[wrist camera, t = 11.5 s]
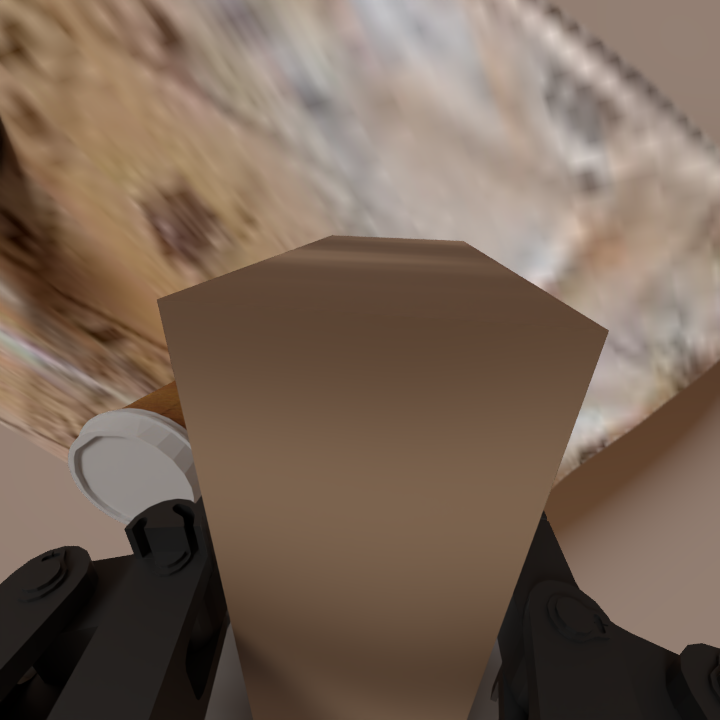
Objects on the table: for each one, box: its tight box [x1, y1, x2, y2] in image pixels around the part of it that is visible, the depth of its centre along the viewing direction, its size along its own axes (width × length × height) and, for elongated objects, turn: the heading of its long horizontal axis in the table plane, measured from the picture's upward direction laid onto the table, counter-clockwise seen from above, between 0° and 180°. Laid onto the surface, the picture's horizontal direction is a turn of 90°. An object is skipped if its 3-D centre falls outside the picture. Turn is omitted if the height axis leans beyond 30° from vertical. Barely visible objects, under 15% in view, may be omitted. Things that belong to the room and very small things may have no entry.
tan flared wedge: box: [157, 235, 609, 720], centre depth 9 cm, size 13×9×8 cm
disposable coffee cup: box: [68, 381, 202, 525], centre depth 27 cm, size 10×10×12 cm
